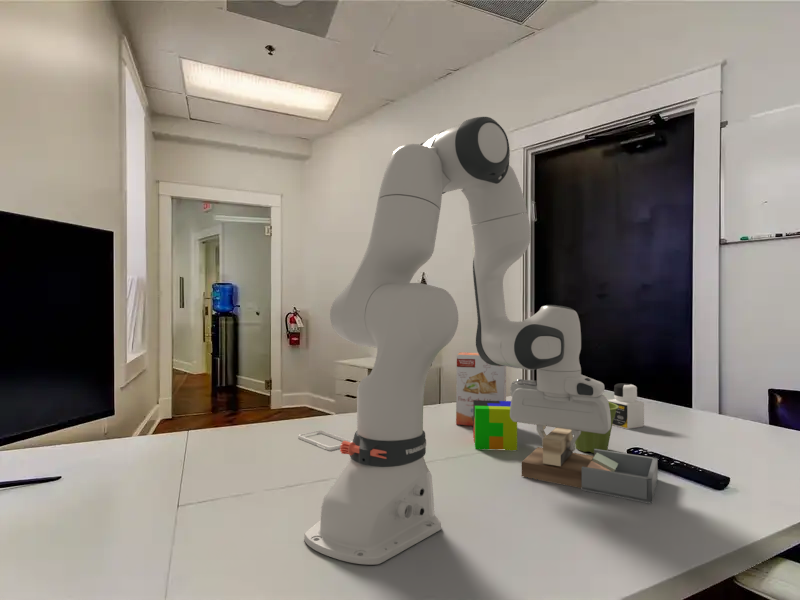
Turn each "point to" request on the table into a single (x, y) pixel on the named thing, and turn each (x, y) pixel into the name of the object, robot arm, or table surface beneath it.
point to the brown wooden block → (556, 468)
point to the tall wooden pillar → (556, 446)
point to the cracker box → (477, 385)
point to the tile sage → (605, 462)
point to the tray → (623, 477)
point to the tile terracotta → (596, 466)
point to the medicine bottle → (627, 407)
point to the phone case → (323, 444)
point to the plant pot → (596, 436)
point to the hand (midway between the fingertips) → (558, 448)
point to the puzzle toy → (493, 425)
